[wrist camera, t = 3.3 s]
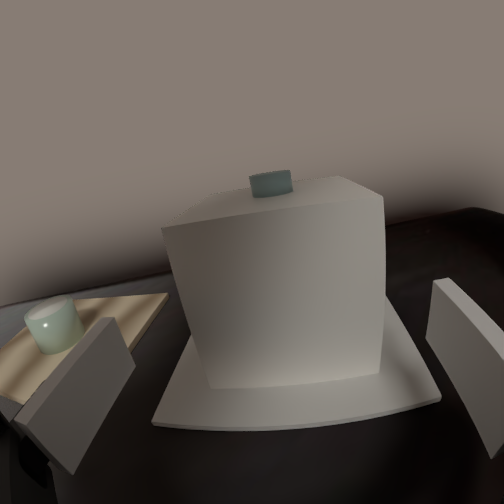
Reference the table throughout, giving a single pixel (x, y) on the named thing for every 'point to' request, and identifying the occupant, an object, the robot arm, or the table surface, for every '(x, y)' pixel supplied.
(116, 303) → the birch board
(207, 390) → the grey mat
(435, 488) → the table surface
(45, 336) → the pale green cylinder
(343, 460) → the table surface
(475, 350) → the robot arm
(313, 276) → the dust cover
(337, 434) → the table surface
